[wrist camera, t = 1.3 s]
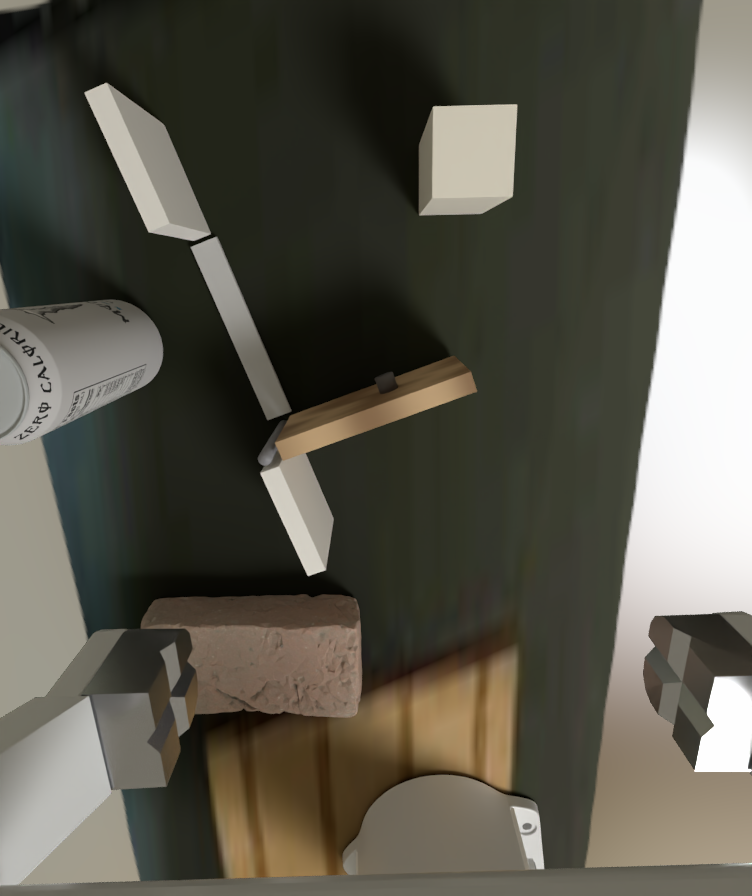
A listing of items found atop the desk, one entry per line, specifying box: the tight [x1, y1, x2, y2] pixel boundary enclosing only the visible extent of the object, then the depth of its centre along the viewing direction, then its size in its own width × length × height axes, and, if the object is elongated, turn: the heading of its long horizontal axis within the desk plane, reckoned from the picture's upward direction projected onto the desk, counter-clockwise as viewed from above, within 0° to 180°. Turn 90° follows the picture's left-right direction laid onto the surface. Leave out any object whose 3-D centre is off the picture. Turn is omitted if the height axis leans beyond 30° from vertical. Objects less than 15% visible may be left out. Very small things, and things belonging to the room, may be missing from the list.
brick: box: [141, 594, 362, 718], centre depth 42 cm, size 17×8×5 cm, turn 90°
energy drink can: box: [0, 299, 163, 445], centre depth 30 cm, size 6×6×15 cm
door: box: [275, 356, 477, 461], centre depth 34 cm, size 12×2×6 cm, turn 110°
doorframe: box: [85, 83, 334, 576], centre depth 33 cm, size 28×2×8 cm, turn 20°
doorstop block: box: [419, 105, 517, 215], centre depth 30 cm, size 4×4×8 cm
